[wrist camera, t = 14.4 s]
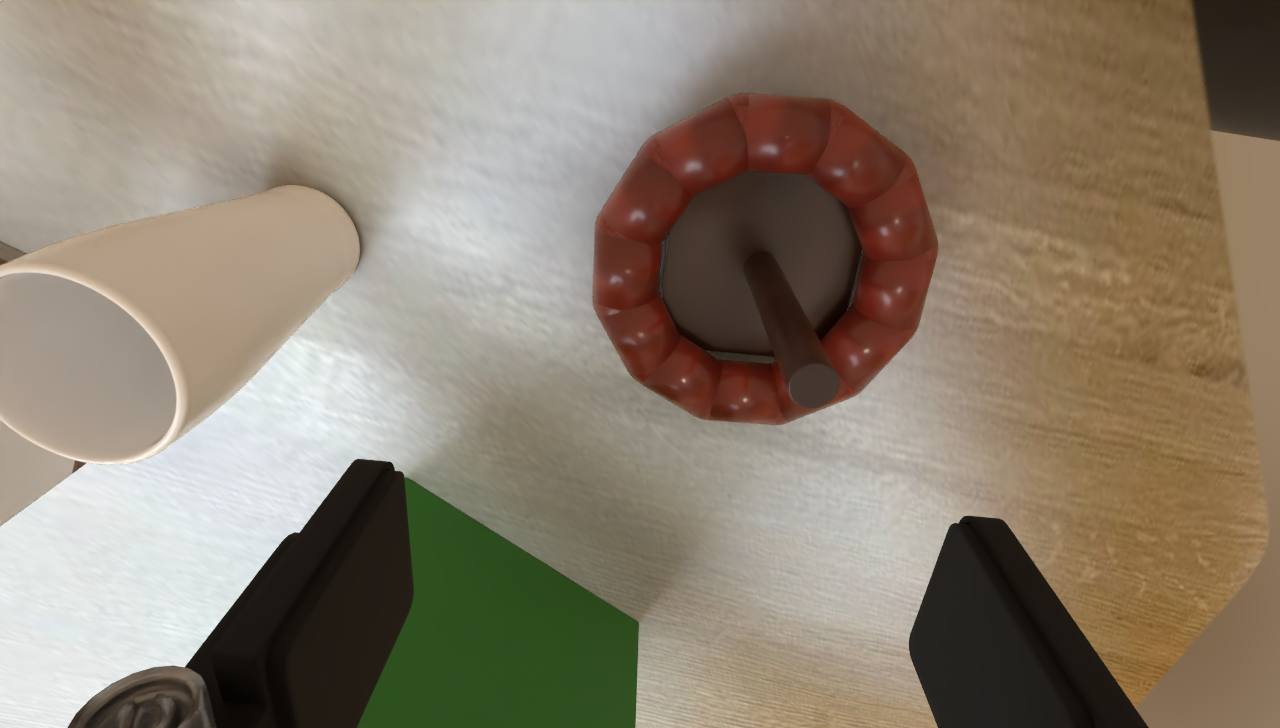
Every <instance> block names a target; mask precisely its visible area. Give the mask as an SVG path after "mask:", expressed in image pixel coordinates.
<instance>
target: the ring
mask: <svg viewBox="0 0 1280 728" xmlns="http://www.w3.org/2000/svg"><path fill="white" fill-rule="evenodd" d="M746 171H757V172H771V173H784V174H798V175H805V176H807V177H808V178H809V179H811V180H812V181H813V182H815V183H816V184H817V185H819V186H820V187H822V188H823V189H824V190H826V191H827V192H828V193H830V194H831V195H832V196H834V197H835V198H836V199H838V200H839V201H841V202H842V203H843V204H845V205H846V206H847V208H848V211H849V213H850V216H851V219H852V222H853V225H854V227H855V230H856V233H857V236H858V238H859V241H860V244H861V247H862V250H863V252H864V255H863V260H862V265H861V269H860V274H859V278H858V283H857V288H856V292H855V297H854V301H853V304H852V305H851V306H850V307H849V309H848V310H847V311H846V312H845V313H844V314H843V315H842V317H841V318H840V319H839V320H838V321H837V322H836V323H835V325H834V326H833V327H832V328H831V329H830V330H829V332H828V333H827V334H826V335H825V336H824V337H823V338H822V340H821V341H820V342H821V344H822V346H823V347H824V349H825V351H826V353H827V355H828V357H829V358H830V360H831V362H832V364H833V366H834V368H835V370H836V371H837V373H838V375H839V378H840V388H839V391H838V393H837V395H836V396H835V398H834V399H833V400H832V401H831V402H829V403H828V404H826V405H824V406H822V407H818V408H806V407H802V406H800V405H798V404H796V403H795V402H794V401H793V400H792V399H791V397H790V395H789V392H788V390H787V387H786V384H785V382H784V379H783V376H782V373H781V371H780V368H779V365H778V363H777V361H774V362H772V363H760V362H746V361H731V360H719V359H718V358H716V357H715V356H713V355H712V354H710V353H708V352H707V351H705V350H704V349H702V348H701V347H699V346H697V345H696V344H694V343H693V342H691V341H689V340H688V339H686V338H685V337H683V336H682V335H680V334H679V332H678V330H677V328H676V326H675V324H674V322H673V320H672V318H671V316H670V314H669V312H668V310H667V308H666V306H665V304H664V302H663V300H662V298H661V296H660V295H659V293H658V290H659V277H660V265H661V253H662V242H663V241H664V239H665V238H666V236H667V235H668V233H669V232H670V231H671V229H672V228H673V226H674V225H675V223H676V222H677V221H678V219H679V218H680V216H681V215H682V213H683V212H684V211H685V209H686V208H687V206H688V205H689V203H690V202H691V201H692V199H693V198H694V196H696V195H698V194H700V193H703V192H705V191H707V190H709V189H711V188H713V187H715V186H717V185H719V184H721V183H723V182H725V181H727V180H729V179H732V178H734V177H736V176H738V175H740V174H742V173H744V172H746ZM937 254H938V241H937V236H936V233H935V230H934V226H933V223H932V220H931V217H930V214H929V210H928V207H927V204H926V201H925V197H924V194H923V191H922V188H921V184H920V181H919V178H918V175H917V172H916V168H915V166H914V164H913V162H912V160H911V159H910V158H909V156H908V155H906V154H905V153H904V152H903V151H902V150H901V149H899V148H898V147H897V146H896V145H894V144H893V143H892V142H890V141H889V140H888V139H887V138H885V137H884V136H883V135H881V134H880V133H879V132H878V131H876V130H875V129H874V128H872V127H871V126H870V125H869V124H867V123H866V122H865V121H864V120H862V119H861V118H860V117H858V116H857V115H856V114H855V113H853V112H852V111H851V110H849V109H848V108H847V107H846V106H844V105H843V104H841V103H839V102H837V101H835V100H831V99H821V98H808V97H794V96H780V95H766V94H753V93H739V94H734V95H731V96H729V97H726V98H724V99H723V100H721V101H719V102H717V103H715V104H713V105H711V106H709V107H707V108H705V109H703V110H701V111H699V112H697V113H695V114H693V115H691V116H689V117H687V118H685V119H683V120H682V121H680V122H678V123H676V124H674V125H672V126H670V127H668V128H666V129H664V130H662V131H660V132H658V133H656V134H655V135H653V136H651V137H650V138H649V139H648V140H647V141H646V142H645V143H644V144H643V146H642V147H641V148H640V150H639V151H638V153H637V155H636V156H635V158H634V159H633V161H632V162H631V164H630V165H629V167H628V169H627V170H626V172H625V173H624V175H623V176H622V178H621V179H620V181H619V183H618V184H617V186H616V187H615V189H614V190H613V192H612V193H611V195H610V197H609V198H608V200H607V201H606V203H605V204H604V206H603V207H602V209H601V211H600V212H599V214H598V216H597V219H596V224H595V242H594V269H593V296H592V298H593V307H594V310H595V312H596V314H597V316H598V318H599V320H600V322H601V324H602V325H603V327H604V329H605V331H606V333H607V334H608V336H609V338H610V340H611V342H612V343H613V345H614V347H615V349H616V351H617V352H618V354H619V356H620V358H621V360H622V361H623V363H624V365H625V367H626V369H627V370H628V372H629V373H630V375H631V376H632V377H633V378H634V379H635V380H636V381H637V382H639V383H640V384H642V385H644V386H645V387H647V388H649V389H650V390H652V391H653V392H655V393H657V394H658V395H660V396H662V397H663V398H665V399H667V400H668V401H670V402H672V403H673V404H675V405H677V406H678V407H680V408H682V409H683V410H685V411H686V412H688V413H690V414H691V415H693V416H695V417H697V418H699V419H703V420H709V421H724V422H738V423H752V424H766V425H782V424H786V423H788V422H791V421H793V420H796V419H798V418H801V417H804V416H806V415H809V414H811V413H814V412H816V411H819V410H821V409H824V408H827V407H829V406H832V405H834V404H837V403H839V402H842V401H844V400H847V399H850V398H852V397H854V396H856V395H857V394H859V393H860V392H861V391H862V390H863V389H864V388H865V387H866V386H867V385H868V384H869V383H870V382H871V381H872V380H873V379H874V378H875V376H876V375H877V374H878V373H879V372H880V371H881V370H882V369H883V368H884V367H885V366H886V365H887V364H888V363H889V361H890V360H891V359H892V358H893V357H894V356H895V355H896V354H897V353H898V352H899V351H900V350H901V349H902V348H903V346H904V345H905V344H906V343H907V342H908V341H909V340H910V339H911V338H912V337H913V335H914V334H915V332H916V330H917V328H918V325H919V322H920V318H921V314H922V311H923V307H924V303H925V299H926V296H927V292H928V288H929V284H930V281H931V277H932V273H933V269H934V266H935V262H936V258H937Z"/></svg>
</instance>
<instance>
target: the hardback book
mask: <svg viewBox="0 0 1280 728" xmlns="http://www.w3.org/2000/svg"><path fill="white" fill-rule="evenodd" d="M405 490H406V502H407V513H408V525H409V537H410V548H411V560H412V572H413V584H414V596H413V602H412V606H411V609H410V612H409V614H408V616H407V618H406V621H405V623H404V625H403V627H402V629H401V632H400V634H399V636H398V638H397V640H396V643H395V645H394V647H393V649H392V651H391V654H390V656H389V658H388V660H387V662H386V665H385V667H384V669H383V671H382V673H381V676H380V678H379V680H378V682H377V684H376V687H375V689H374V691H373V693H372V695H371V697H370V700H369V702H368V704H367V706H366V708H365V711H364V713H363V715H362V717H361V719H360V722H359V724H358V726H357V728H635V721H636V691H637V662H638V632H639V623H638V622H637V621H635V620H634V619H632V618H630V617H629V616H627V615H626V614H624V613H622V612H621V611H619V610H618V609H616V608H614V607H613V606H611V605H610V604H608V603H606V602H605V601H603V600H602V599H600V598H598V597H597V596H595V595H594V594H592V593H590V592H589V591H587V590H586V589H584V588H582V587H581V586H579V585H578V584H576V583H574V582H573V581H571V580H570V579H568V578H566V577H565V576H563V575H562V574H560V573H559V572H557V571H555V570H554V569H552V568H551V567H549V566H547V565H546V564H544V563H543V562H541V561H539V560H538V559H536V558H535V557H533V556H531V555H530V554H528V553H527V552H525V551H523V550H522V549H520V548H519V547H517V546H515V545H514V544H512V543H511V542H509V541H507V540H506V539H504V538H503V537H501V536H499V535H498V534H496V533H495V532H493V531H491V530H490V529H488V528H487V527H485V526H483V525H482V524H480V523H479V522H477V521H475V520H474V519H472V518H471V517H469V516H467V515H466V514H464V513H463V512H461V511H459V510H458V509H456V508H455V507H453V506H451V505H450V504H448V503H447V502H445V501H443V500H442V499H440V498H439V497H437V496H435V495H434V494H432V493H431V492H429V491H427V490H426V489H424V488H423V487H421V486H419V485H418V484H416V483H415V482H413V481H412V480H410V479H408V478H407V477H406V478H405Z"/></svg>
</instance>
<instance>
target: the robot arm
mask: <svg viewBox="0 0 1280 728" xmlns="http://www.w3.org/2000/svg"><path fill="white" fill-rule="evenodd" d="M413 596H414V584H413V572H412V560H411V548H410V537H409V525H408V513H407V502H406V490H405V479H404V474H403V472H401V471H395V469H394V466H393V464H392V463H391V462H386V461H375V460H364V459H357V460H355V461H354V462H353V463H352V464H351V465H350V466H349V468H348V469H347V470H346V472H345V473H344V474H343V476H342V477H341V478H340V480H339V481H338V482H337V484H336V485H335V486H334V488H333V489H332V490H331V492H330V493H329V494H328V496H327V497H326V498H325V500H324V501H323V502H322V504H321V505H320V506H319V508H318V509H317V510H316V512H315V513H314V514H313V516H312V517H311V518H310V520H309V521H308V522H307V524H306V525H305V526H304V528H303V529H302V530H301V532H300V533H293V534H290V535H288V536H287V537H286V538H285V539H284V540H283V541H282V542H281V544H280V545H279V546H278V547H277V549H276V550H275V551H274V553H273V554H272V555H271V557H270V558H269V559H268V560H267V562H266V563H265V564H264V566H263V567H262V568H261V569H260V571H259V572H258V573H257V575H256V576H255V577H254V578H253V580H252V581H251V582H250V584H249V585H248V586H247V588H246V589H245V590H244V591H243V593H242V594H241V595H240V597H239V598H238V599H237V600H236V602H235V603H234V604H233V606H232V607H231V608H230V609H229V611H228V612H227V613H226V615H225V616H224V617H223V619H222V620H221V621H220V622H219V624H218V625H217V626H216V628H215V629H214V630H213V631H212V633H211V634H210V635H209V637H208V638H207V639H206V641H205V642H204V643H203V644H202V646H201V647H200V648H199V650H198V651H197V652H196V653H195V655H194V656H193V657H192V659H191V660H190V661H189V662H188V664H187V665H186V666H185V668H184V667H178V666H164V667H154V668H150V669H147V670H143V671H140V672H137V673H133V674H131V675H129V676H127V677H125V678H123V679H121V680H119V681H117V682H115V683H112V684H111V685H109V686H108V687H107V688H105V689H104V690H102V691H101V692H99V693H98V694H97V695H95V696H94V697H92V698H91V699H90V700H89V701H88V702H87V703H86V704H85V705H84V706H83V707H82V708H81V709H80V710H79V711H78V712H77V713H76V715H75V716H74V718H73V720H72V721H71V723H70V725H69V726H68V728H357V726H358V724H359V722H360V719H361V717H362V715H363V713H364V711H365V708H366V706H367V704H368V702H369V700H370V697H371V695H372V693H373V691H374V689H375V687H376V684H377V682H378V680H379V678H380V676H381V673H382V671H383V669H384V667H385V665H386V662H387V660H388V658H389V656H390V654H391V651H392V649H393V647H394V645H395V643H396V640H397V638H398V636H399V634H400V632H401V629H402V627H403V625H404V623H405V621H406V618H407V616H408V614H409V612H410V609H411V606H412V602H413ZM909 651H910V656H911V659H912V662H913V665H914V667H915V670H916V672H917V675H918V677H919V680H920V682H921V685H922V688H923V690H924V693H925V695H926V698H927V700H928V703H929V705H930V708H931V711H932V713H933V716H934V718H935V721H936V723H937V726H938V728H1148V726H1147V725H1146V723H1145V722H1144V720H1143V719H1142V718H1141V716H1140V715H1139V713H1138V712H1137V710H1136V709H1135V708H1134V706H1133V705H1132V703H1131V702H1130V700H1129V699H1128V697H1127V696H1126V695H1125V693H1124V692H1123V690H1122V689H1121V687H1120V686H1119V685H1118V683H1117V682H1116V680H1115V679H1114V677H1113V676H1112V675H1111V673H1110V672H1109V670H1108V669H1107V667H1106V666H1105V664H1104V663H1103V662H1102V660H1101V659H1100V657H1099V656H1098V654H1097V653H1096V652H1095V650H1094V649H1093V647H1092V646H1091V644H1090V643H1089V641H1088V640H1087V639H1086V637H1085V636H1084V634H1083V633H1082V631H1081V630H1080V629H1079V627H1078V626H1077V624H1076V623H1075V621H1074V620H1073V619H1072V617H1071V616H1070V614H1069V613H1068V611H1067V610H1066V608H1065V607H1064V606H1063V604H1062V603H1061V601H1060V600H1059V598H1058V597H1057V596H1056V594H1055V593H1054V591H1053V590H1052V588H1051V587H1050V585H1049V584H1048V583H1047V581H1046V580H1045V578H1044V577H1043V575H1042V574H1041V573H1040V571H1039V570H1038V568H1037V567H1036V565H1035V564H1034V562H1033V561H1032V560H1031V558H1030V557H1029V555H1028V554H1027V552H1026V551H1025V550H1024V548H1023V547H1022V545H1021V544H1020V542H1019V541H1018V540H1017V538H1016V537H1015V535H1014V534H1013V532H1012V531H1011V529H1010V528H1009V527H1008V525H1007V524H1006V523H1005V522H1004V521H1003V520H1001V519H997V518H986V517H976V516H964V517H963V518H962V519H961V520H960V522H959V524H958V523H954V524H952V525H951V526H950V527H949V529H948V532H947V535H946V537H945V540H944V543H943V546H942V548H941V551H940V554H939V557H938V559H937V562H936V565H935V568H934V570H933V573H932V576H931V579H930V581H929V584H928V587H927V590H926V593H925V595H924V598H923V601H922V604H921V606H920V609H919V612H918V615H917V617H916V620H915V623H914V626H913V628H912V631H911V634H910V638H909Z"/></svg>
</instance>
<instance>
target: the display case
mask: <svg viewBox="0 0 1280 728" xmlns="http://www.w3.org/2000/svg"><path fill="white" fill-rule="evenodd" d="M23 255H26V254H25V253H23V252H21V251H19V250H17V249H15V248H12V247H10V246H8V245H6V244H4V243H2V242H0V265H1V264H4V263H6V262H9V261H11V260H14V259H16V258H18V257H21V256H23ZM85 464H86V463H85V462H80V461H76V460H73V459H69V458H66V457H63V456H60V455H57V454H55V453H52V452H50V451H48V450H45V449H43V448H41V447H39V446H37V445H35V444H34V443H32V442H30V441H28V440H27V439H25V438H24V437H22V436H20V435H19V434H17V433H16V432H15V431H13V430H12V429H11V428H9V427H8V426H7V425H5V424H4V423H3V422H2V421H1V420H0V526H2V525H3V524H4V523H6V522H7V521H8V520H10V519H11V518H12V517H14V516H15V515H17V514H18V513H19V512H21V511H22V510H23V509H25V508H26V507H27V506H29V505H30V504H32V503H33V502H34V501H36V500H37V499H38V498H40V497H41V496H42V495H44V494H45V493H47V492H48V491H49V490H51V489H52V488H53V487H55V486H56V485H57V484H59V483H60V482H61V481H63V480H64V479H66V478H67V477H68V476H70V475H71V474H72V473H74V472H75V471H76V470H78V469H79V468H81V467H82V466H83V465H85Z"/></svg>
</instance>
